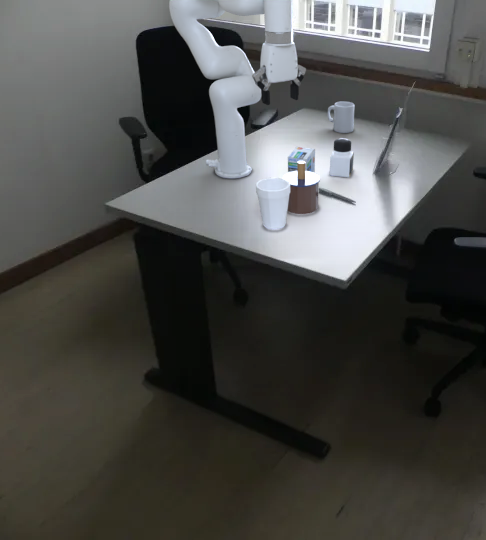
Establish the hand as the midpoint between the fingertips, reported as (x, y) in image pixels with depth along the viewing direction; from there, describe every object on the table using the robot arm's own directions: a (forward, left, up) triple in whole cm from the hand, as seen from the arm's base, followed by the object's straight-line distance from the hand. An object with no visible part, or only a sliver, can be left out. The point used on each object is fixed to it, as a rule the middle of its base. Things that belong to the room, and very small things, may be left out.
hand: (280, 101), depth 154 cm
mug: (+22, +68, -31) cm, 78 cm away
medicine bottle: (+20, +20, -31) cm, 42 cm away
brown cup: (+6, -8, -30) cm, 32 cm away
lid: (+6, -8, -21) cm, 23 cm away
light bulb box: (+6, +11, -31) cm, 33 cm away
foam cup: (-2, -20, -31) cm, 36 cm away
